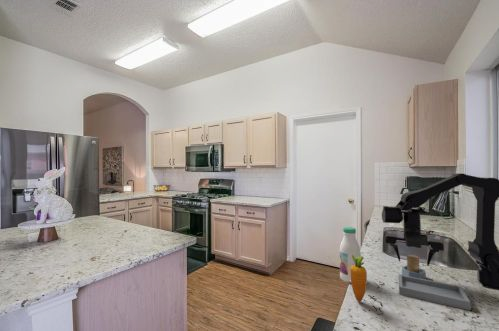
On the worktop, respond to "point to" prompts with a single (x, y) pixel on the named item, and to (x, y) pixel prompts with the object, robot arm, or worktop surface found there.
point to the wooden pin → (413, 263)
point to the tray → (434, 291)
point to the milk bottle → (348, 252)
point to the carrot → (358, 278)
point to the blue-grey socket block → (414, 273)
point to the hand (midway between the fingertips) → (413, 263)
